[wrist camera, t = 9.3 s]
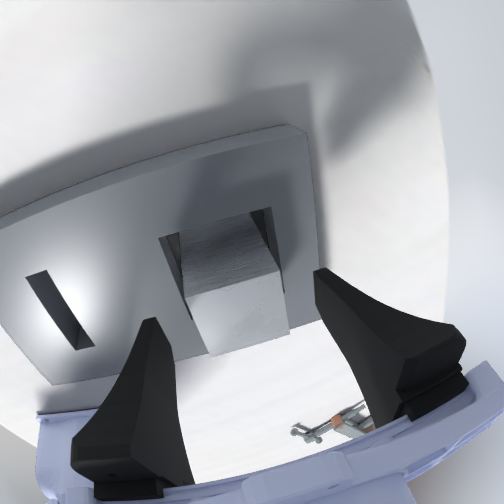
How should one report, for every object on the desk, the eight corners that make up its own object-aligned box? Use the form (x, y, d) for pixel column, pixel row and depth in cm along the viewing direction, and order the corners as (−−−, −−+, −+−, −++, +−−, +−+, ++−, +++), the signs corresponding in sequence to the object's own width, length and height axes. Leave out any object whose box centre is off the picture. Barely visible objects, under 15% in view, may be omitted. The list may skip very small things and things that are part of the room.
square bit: (198, 283, 20) (210, 357, 15) (178, 229, 18) (184, 298, 13) (259, 265, 20) (289, 334, 15) (247, 209, 18) (279, 270, 13)
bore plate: (57, 360, 21) (52, 385, 19) (-28, 231, 14) (-46, 252, 12) (308, 295, 23) (322, 318, 21) (288, 123, 16) (306, 133, 14)
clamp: (396, 422, 39) (339, 455, 41) (389, 411, 41) (334, 444, 43) (365, 398, 31) (291, 441, 33) (357, 383, 33) (285, 426, 34)
